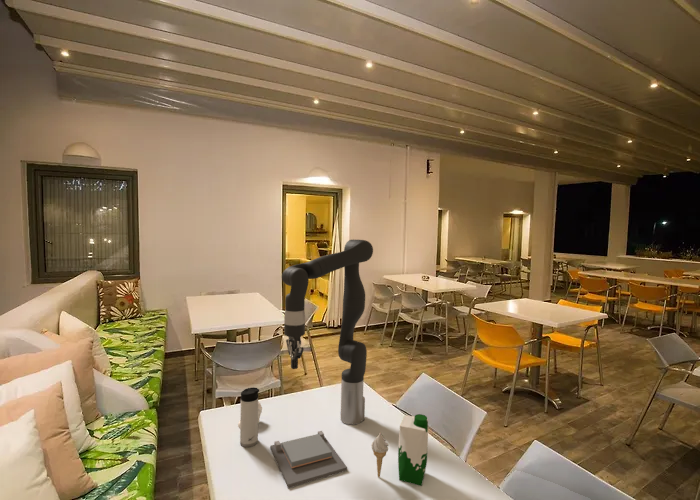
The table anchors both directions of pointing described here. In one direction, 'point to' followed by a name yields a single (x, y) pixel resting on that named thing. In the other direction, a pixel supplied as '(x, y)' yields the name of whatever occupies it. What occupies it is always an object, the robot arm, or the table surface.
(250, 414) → the travel mug
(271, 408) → the table surface
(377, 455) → the ice cream cone
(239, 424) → the beige irregular lump
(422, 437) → the milk carton
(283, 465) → the base
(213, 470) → the table surface
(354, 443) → the table surface
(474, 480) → the table surface
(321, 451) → the tile
